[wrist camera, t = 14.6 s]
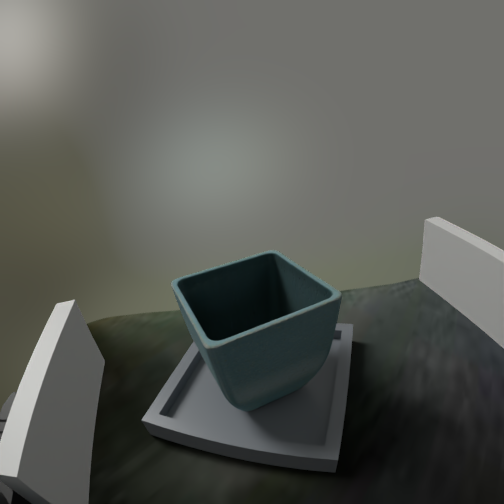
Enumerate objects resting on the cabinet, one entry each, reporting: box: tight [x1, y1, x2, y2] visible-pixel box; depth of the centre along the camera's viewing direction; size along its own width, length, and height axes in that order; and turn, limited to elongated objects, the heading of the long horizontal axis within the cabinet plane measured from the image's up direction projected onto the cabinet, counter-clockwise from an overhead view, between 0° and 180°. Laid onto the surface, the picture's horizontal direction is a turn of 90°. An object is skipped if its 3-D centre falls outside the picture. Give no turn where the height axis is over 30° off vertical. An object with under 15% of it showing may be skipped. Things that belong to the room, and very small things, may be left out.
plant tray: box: [142, 324, 353, 472], centre depth 24 cm, size 14×14×2 cm
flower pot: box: [171, 250, 342, 411], centre depth 22 cm, size 9×9×9 cm
